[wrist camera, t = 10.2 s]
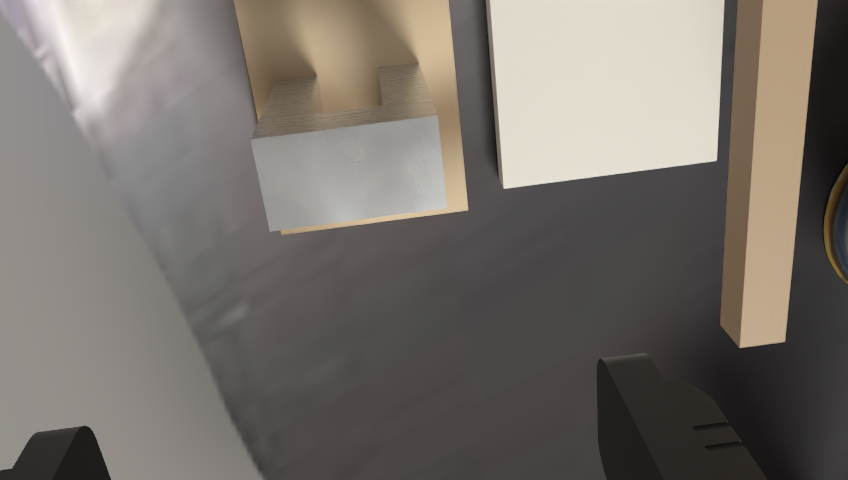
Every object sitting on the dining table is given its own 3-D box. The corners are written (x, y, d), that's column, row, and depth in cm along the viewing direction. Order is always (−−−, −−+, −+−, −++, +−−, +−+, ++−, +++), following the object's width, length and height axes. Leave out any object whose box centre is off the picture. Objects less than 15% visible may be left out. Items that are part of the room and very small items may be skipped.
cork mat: (233, -12, 29) (231, -10, 29) (443, -38, 30) (445, -37, 29) (282, 229, 34) (281, 234, 33) (466, 204, 34) (468, 210, 33)
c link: (276, 80, 30) (250, 139, 23) (418, 62, 31) (437, 115, 23) (290, 153, 32) (270, 231, 24) (427, 135, 32) (447, 208, 25)
